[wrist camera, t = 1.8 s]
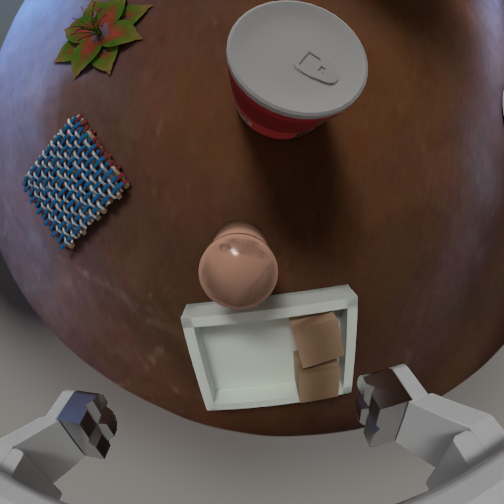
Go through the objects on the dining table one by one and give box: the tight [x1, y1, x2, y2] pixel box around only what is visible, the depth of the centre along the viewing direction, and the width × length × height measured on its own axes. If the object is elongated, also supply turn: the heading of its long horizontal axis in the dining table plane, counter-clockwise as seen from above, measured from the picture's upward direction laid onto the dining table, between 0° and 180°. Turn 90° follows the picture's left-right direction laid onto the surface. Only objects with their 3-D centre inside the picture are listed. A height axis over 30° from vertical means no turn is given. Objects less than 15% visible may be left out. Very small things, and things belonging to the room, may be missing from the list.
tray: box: [181, 285, 358, 410], centre depth 28 cm, size 16×12×3 cm
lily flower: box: [53, 0, 153, 79], centre depth 18 cm, size 12×12×5 cm
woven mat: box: [23, 114, 130, 250], centre depth 24 cm, size 10×11×2 cm
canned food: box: [226, 0, 368, 139], centre depth 18 cm, size 8×8×11 cm
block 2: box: [293, 350, 340, 403], centre depth 27 cm, size 4×4×4 cm
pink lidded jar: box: [199, 220, 278, 309], centre depth 23 cm, size 5×5×7 cm
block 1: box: [289, 311, 344, 368], centre depth 26 cm, size 4×4×4 cm
